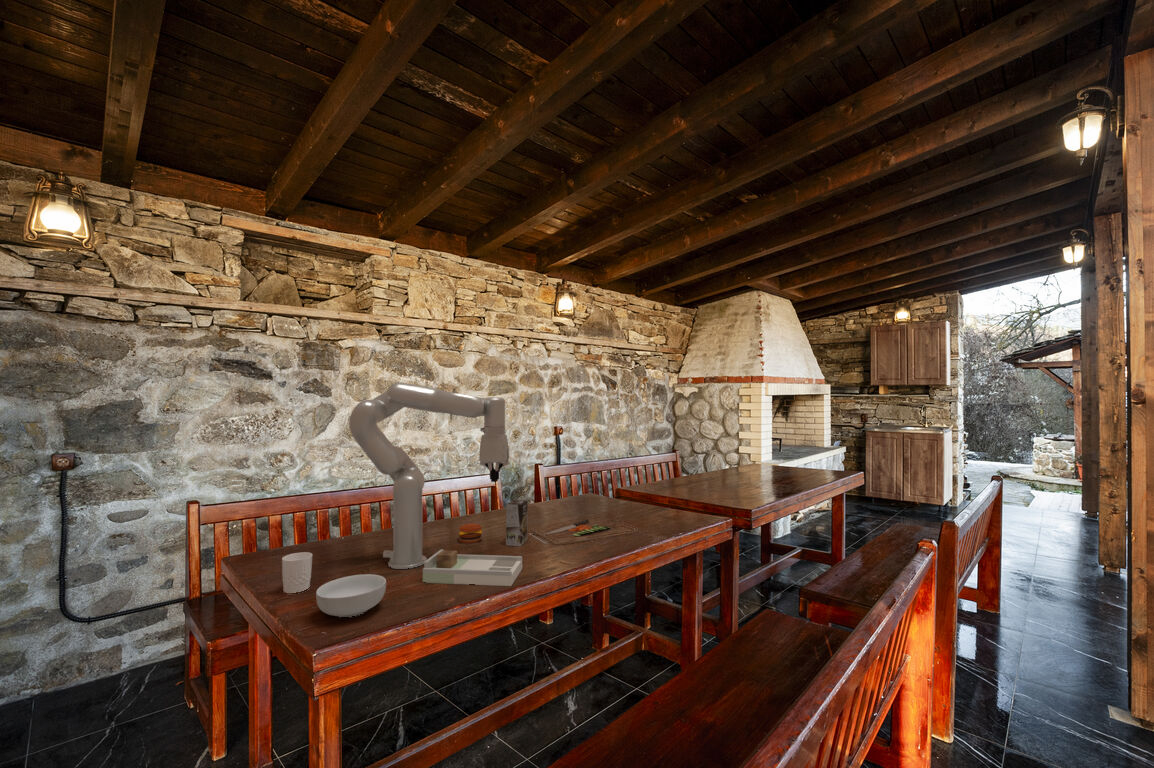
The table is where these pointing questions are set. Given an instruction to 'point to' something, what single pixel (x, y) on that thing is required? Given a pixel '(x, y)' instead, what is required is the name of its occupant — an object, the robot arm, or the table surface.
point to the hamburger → (470, 533)
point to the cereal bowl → (351, 595)
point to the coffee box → (516, 522)
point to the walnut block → (446, 559)
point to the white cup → (296, 572)
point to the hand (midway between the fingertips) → (494, 481)
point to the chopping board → (578, 532)
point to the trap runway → (475, 570)
